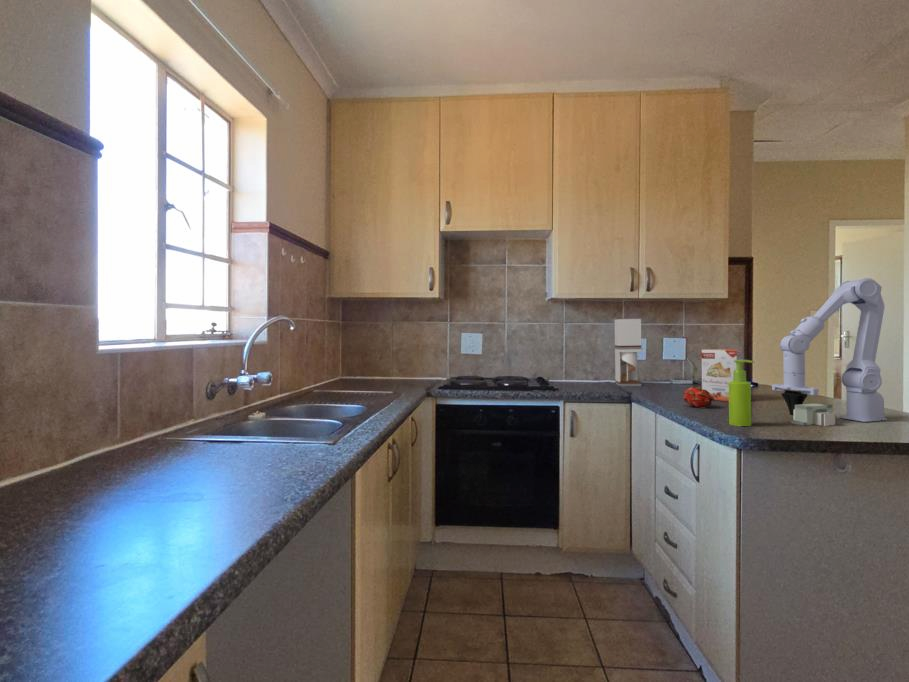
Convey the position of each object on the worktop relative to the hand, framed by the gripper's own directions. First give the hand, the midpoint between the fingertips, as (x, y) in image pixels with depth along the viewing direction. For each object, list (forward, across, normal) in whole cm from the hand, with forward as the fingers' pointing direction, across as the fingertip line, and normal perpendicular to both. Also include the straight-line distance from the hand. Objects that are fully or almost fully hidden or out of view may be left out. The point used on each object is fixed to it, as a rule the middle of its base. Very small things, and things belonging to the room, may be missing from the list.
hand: (794, 415), depth 159 cm
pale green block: (+1, +6, 0) cm, 7 cm away
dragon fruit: (+2, -32, -9) cm, 33 cm away
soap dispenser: (+2, +2, -22) cm, 22 cm away
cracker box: (+2, -43, +12) cm, 44 cm away
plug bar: (+1, +6, 0) cm, 6 cm away
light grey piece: (+2, -106, +11) cm, 106 cm away
